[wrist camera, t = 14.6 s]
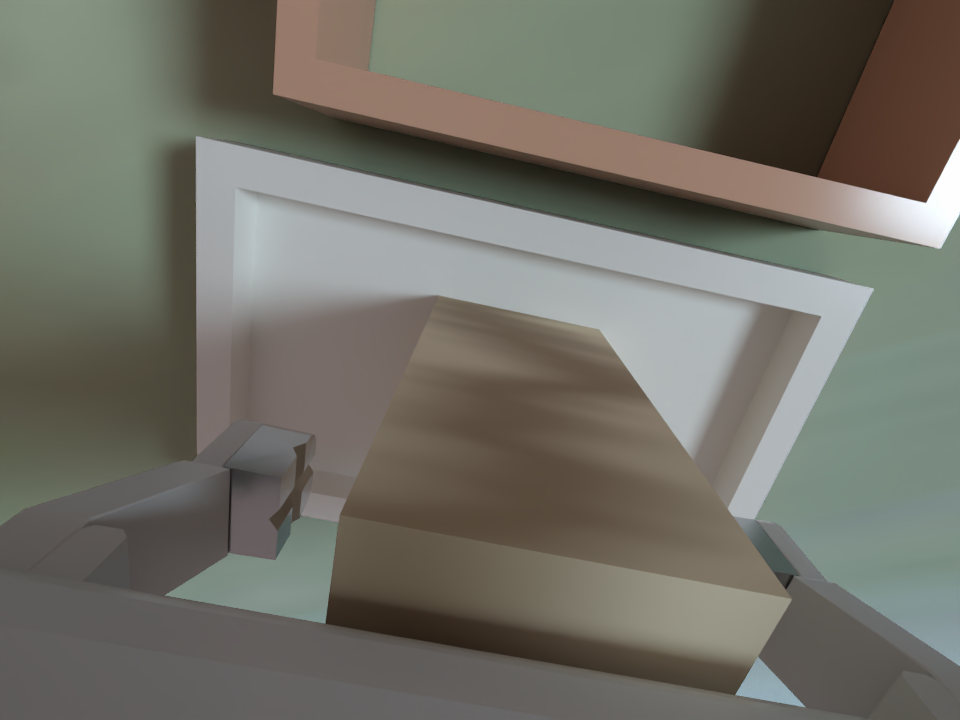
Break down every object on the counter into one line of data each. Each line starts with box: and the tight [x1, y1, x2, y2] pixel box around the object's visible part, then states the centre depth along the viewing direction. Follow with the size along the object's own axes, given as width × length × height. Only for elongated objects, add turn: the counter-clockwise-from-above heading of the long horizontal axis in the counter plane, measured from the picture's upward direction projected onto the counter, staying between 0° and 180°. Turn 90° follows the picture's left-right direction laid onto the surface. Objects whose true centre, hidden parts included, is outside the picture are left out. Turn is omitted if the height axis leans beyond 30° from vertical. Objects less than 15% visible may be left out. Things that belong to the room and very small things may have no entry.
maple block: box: [326, 295, 792, 695], centre depth 11 cm, size 5×5×10 cm
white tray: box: [196, 136, 874, 522], centre depth 15 cm, size 18×11×2 cm, turn 78°
